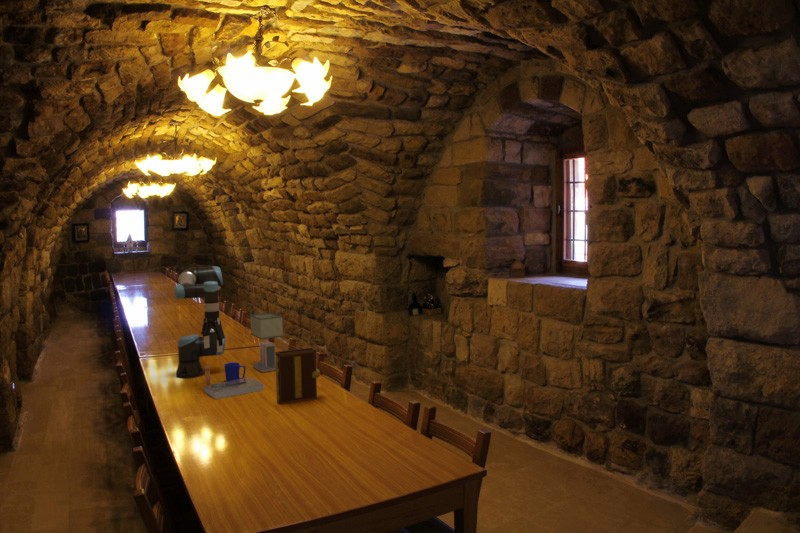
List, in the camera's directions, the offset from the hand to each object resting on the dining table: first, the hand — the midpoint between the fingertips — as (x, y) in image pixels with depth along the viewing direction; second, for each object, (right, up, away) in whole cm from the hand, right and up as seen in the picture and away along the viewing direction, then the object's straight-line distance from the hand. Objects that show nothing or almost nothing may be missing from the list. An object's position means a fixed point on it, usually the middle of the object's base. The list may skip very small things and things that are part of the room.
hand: (213, 349), depth 318 cm
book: (+50, -22, -21) cm, 58 cm away
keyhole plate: (+12, -21, -3) cm, 25 cm away
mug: (+8, -20, +15) cm, 26 cm away
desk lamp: (+19, -18, +44) cm, 51 cm away
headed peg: (-3, -21, +1) cm, 21 cm away
